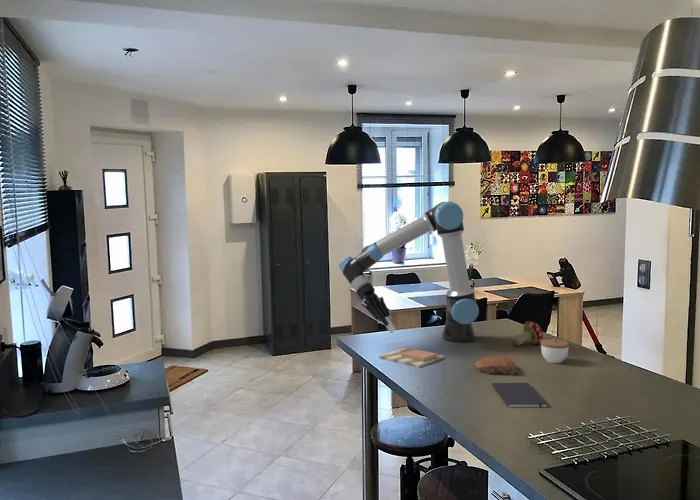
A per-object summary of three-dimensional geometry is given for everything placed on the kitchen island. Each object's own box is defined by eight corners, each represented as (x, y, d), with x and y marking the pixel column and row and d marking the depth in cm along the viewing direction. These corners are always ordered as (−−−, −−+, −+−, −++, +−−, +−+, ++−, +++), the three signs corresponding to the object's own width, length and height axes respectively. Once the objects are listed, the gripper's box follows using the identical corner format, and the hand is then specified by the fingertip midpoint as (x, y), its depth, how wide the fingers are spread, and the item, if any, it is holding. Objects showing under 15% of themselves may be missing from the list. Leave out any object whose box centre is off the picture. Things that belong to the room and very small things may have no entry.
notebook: (492, 387, 207) (508, 409, 186) (492, 382, 207) (508, 404, 186) (528, 386, 207) (548, 408, 186) (528, 382, 207) (548, 403, 186)
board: (378, 358, 243) (378, 355, 243) (405, 349, 256) (405, 347, 256) (418, 367, 229) (418, 364, 229) (444, 358, 243) (444, 355, 243)
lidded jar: (564, 357, 242) (565, 335, 242) (571, 365, 232) (572, 341, 231) (537, 357, 243) (538, 335, 243) (543, 364, 233) (544, 341, 232)
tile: (401, 353, 240) (423, 358, 233) (414, 349, 247) (436, 353, 240) (401, 357, 241) (423, 362, 233) (414, 352, 247) (436, 357, 240)
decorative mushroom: (510, 328, 259) (537, 314, 263) (502, 336, 269) (528, 322, 273) (524, 350, 255) (552, 335, 259) (516, 357, 265) (542, 343, 269)
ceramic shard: (472, 351, 234) (509, 356, 234) (470, 367, 234) (507, 373, 234) (480, 356, 220) (520, 362, 219) (477, 373, 219) (517, 379, 219)
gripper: (367, 291, 264) (397, 333, 255) (348, 294, 255) (378, 338, 245) (377, 280, 260) (407, 323, 251) (358, 284, 251) (388, 328, 241)
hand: (393, 330), depth 248 cm, fingers closed
